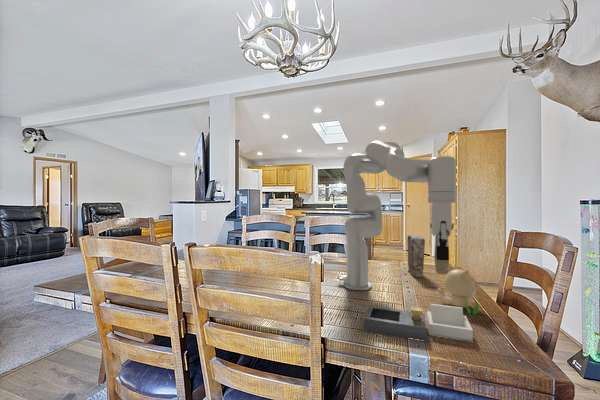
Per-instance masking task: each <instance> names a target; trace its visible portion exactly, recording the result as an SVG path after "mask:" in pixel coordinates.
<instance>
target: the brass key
mask: <svg viewBox="0 0 600 400" xmlns="http://www.w3.org/2000/svg"><path fill="white" fill-rule="evenodd" d="M410 311H411V313H413V320H415V321H420V314H421V315H422V313H423V309H422V307H420V306H410Z"/></svg>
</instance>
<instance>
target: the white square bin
mask: <svg viewBox="0 0 600 400" xmlns="http://www.w3.org/2000/svg"><path fill="white" fill-rule="evenodd" d="M426 312H427V314H426V315H427V316H426V318H427V321H426V323H427V322H428V323H427V328H429V329H428V335H433V336H432V337H434V336H441V337H447V338H451V339H450V340H453V339H455V341H459V340H460V341H459V342H465V343H466V342H467V343H471V344H472V343H474V330H473V328H472V326H471V324H470V322H469V319H468V317H467V315H464V308H462V307H457V306H455V305H445V304H436V303H430V310H427V311H426ZM447 338H446V339H447Z"/></svg>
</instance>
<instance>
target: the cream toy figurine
mask: <svg viewBox="0 0 600 400" xmlns="http://www.w3.org/2000/svg"><path fill="white" fill-rule="evenodd" d="M447 270H448V273H447V274H445V275H446V276H445V278H444V287H445V289H446V291H447V292H449V293H450V294H452V295H451V296H450V297H448V296H447V295H446V294H445V292H444V290H443V288H441V287H438V288H437V293H438V294H439V295H440V296H441V297H442V298H443V299H444V300H445V301H446V302H447V303H450V304H452V306H454V307H462V308H463V309H464V308H465V309H466V311H467V314H473V315H478V311H479V303H478V301H477V300H476V299H474V301H475V306H474V307H473V310H472V309H470V308H469V307H471V305H472V303H471V299H470V298H473V297H474V296H475V295H476V293H477V286H478V285H477V282H476V281H477V280H475V278H474V276H473V275H472V274H471V273H470V272H469V271H470V270H469V269H465V270H464V269H458V268H456V267H455V266H454V265H453V264H452V263H450V262H449V266H448V268H447Z"/></svg>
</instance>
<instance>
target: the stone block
mask: <svg viewBox="0 0 600 400" xmlns="http://www.w3.org/2000/svg"><path fill="white" fill-rule="evenodd" d="M406 239H407V242H406V243H407V245H406V246H407V266H408V273H409V274H410V275H412V276H413V277H416V278H423V275H424V265H425V263H424V262H425V248H426V247H425V245H426V244H425V243H426V239H425V238H424V237H421V236H420V235H413V234H412V235H411V234H408V235H407V238H406Z"/></svg>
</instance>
